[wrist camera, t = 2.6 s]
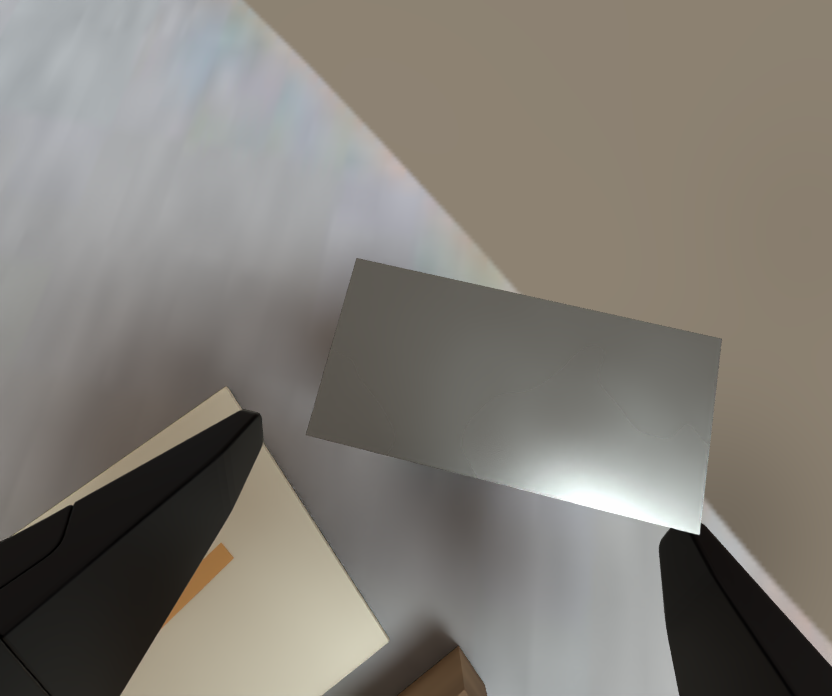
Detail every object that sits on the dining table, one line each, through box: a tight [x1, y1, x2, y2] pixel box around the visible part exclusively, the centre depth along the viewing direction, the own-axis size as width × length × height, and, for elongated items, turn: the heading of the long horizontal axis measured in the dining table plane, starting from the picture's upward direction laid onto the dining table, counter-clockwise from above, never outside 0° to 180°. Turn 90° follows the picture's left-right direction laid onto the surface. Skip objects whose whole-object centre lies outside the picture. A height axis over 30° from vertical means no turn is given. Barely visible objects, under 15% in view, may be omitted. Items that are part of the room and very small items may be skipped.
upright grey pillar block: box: [306, 258, 722, 535], centre depth 12 cm, size 5×6×13 cm
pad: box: [14, 387, 390, 696], centre depth 17 cm, size 12×12×1 cm
